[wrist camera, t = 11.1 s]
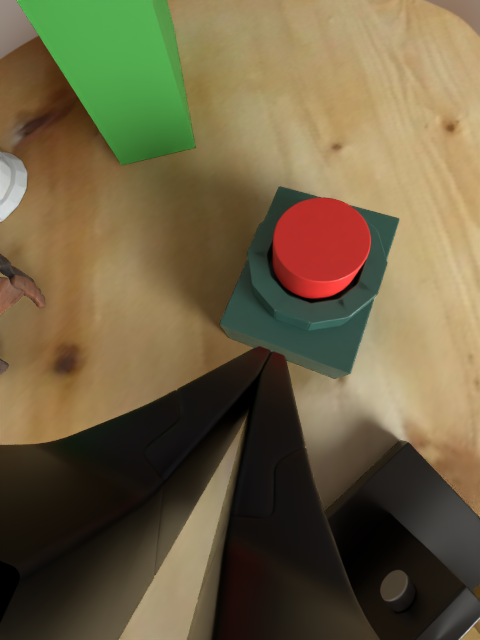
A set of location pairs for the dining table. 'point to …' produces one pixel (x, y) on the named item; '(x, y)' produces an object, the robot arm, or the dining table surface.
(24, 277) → the pottery mug
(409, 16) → the dining table surface
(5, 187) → the ball-headed pin
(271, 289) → the green boxy piece
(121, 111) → the hardback book
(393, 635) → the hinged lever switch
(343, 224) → the stop button
